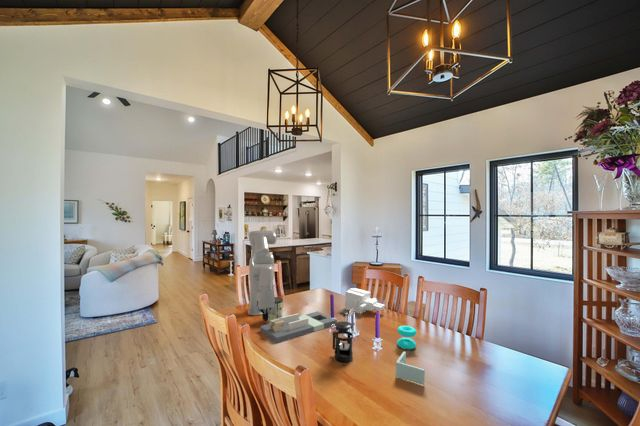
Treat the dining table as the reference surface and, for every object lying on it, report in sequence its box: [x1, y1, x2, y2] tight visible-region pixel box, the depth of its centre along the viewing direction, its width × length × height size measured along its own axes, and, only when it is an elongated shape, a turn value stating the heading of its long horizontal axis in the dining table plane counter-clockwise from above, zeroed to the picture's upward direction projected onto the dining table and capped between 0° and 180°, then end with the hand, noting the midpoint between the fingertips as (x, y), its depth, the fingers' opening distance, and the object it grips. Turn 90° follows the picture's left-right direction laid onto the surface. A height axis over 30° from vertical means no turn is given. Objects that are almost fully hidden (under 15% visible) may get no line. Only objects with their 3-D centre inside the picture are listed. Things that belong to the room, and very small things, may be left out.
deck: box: [259, 311, 338, 344], centre depth 180 cm, size 20×45×7 cm, turn 129°
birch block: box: [269, 318, 284, 332], centre depth 169 cm, size 6×6×5 cm
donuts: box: [396, 325, 417, 350], centre depth 156 cm, size 10×10×10 cm
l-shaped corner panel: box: [395, 351, 426, 386], centre depth 128 cm, size 12×12×8 cm
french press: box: [332, 311, 354, 364], centre depth 143 cm, size 12×9×23 cm
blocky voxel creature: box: [344, 287, 386, 315], centre depth 212 cm, size 15×25×28 cm
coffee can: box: [266, 296, 284, 324], centre depth 191 cm, size 10×10×14 cm
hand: (265, 319), depth 164 cm, fingers closed
